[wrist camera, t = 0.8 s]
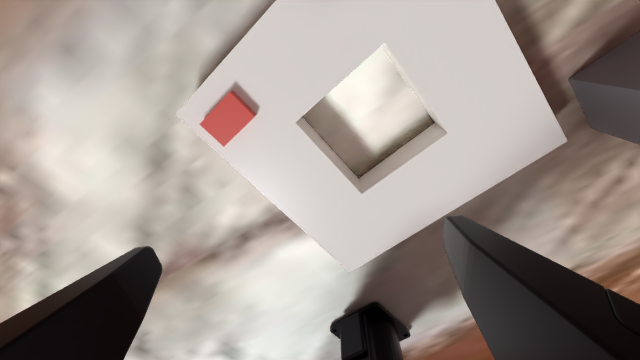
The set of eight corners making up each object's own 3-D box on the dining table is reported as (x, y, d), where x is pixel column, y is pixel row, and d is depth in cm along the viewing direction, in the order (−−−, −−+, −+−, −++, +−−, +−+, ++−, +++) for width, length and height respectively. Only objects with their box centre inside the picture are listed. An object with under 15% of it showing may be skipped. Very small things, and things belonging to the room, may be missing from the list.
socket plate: (541, 129, 20) (575, 144, 17) (348, 252, 26) (350, 277, 23) (401, -126, 14) (418, -166, 11) (192, 106, 20) (170, 116, 17)
